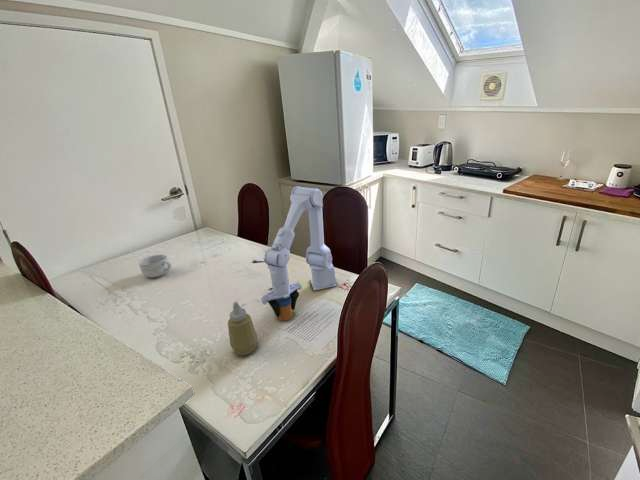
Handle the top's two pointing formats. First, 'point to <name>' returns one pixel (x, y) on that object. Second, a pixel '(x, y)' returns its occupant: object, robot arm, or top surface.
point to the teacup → (154, 265)
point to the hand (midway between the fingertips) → (285, 312)
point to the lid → (284, 301)
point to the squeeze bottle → (241, 331)
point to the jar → (285, 312)
